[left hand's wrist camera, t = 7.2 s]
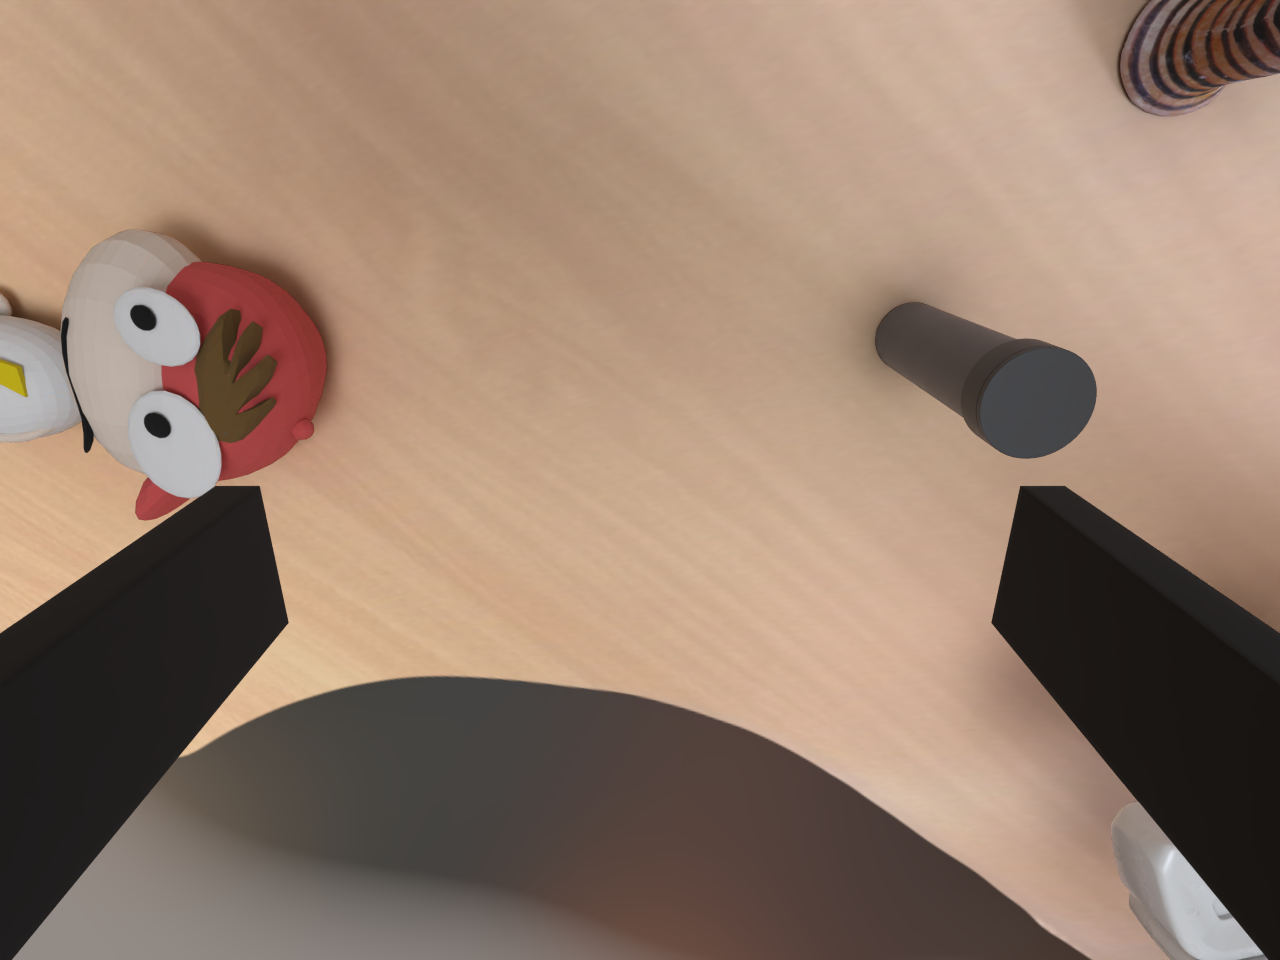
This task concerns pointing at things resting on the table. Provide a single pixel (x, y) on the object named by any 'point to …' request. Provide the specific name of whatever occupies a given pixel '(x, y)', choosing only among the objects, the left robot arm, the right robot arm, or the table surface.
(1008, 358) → the lid
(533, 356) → the table surface
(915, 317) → the dark grey bottle
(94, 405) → the toy
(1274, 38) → the figurine
